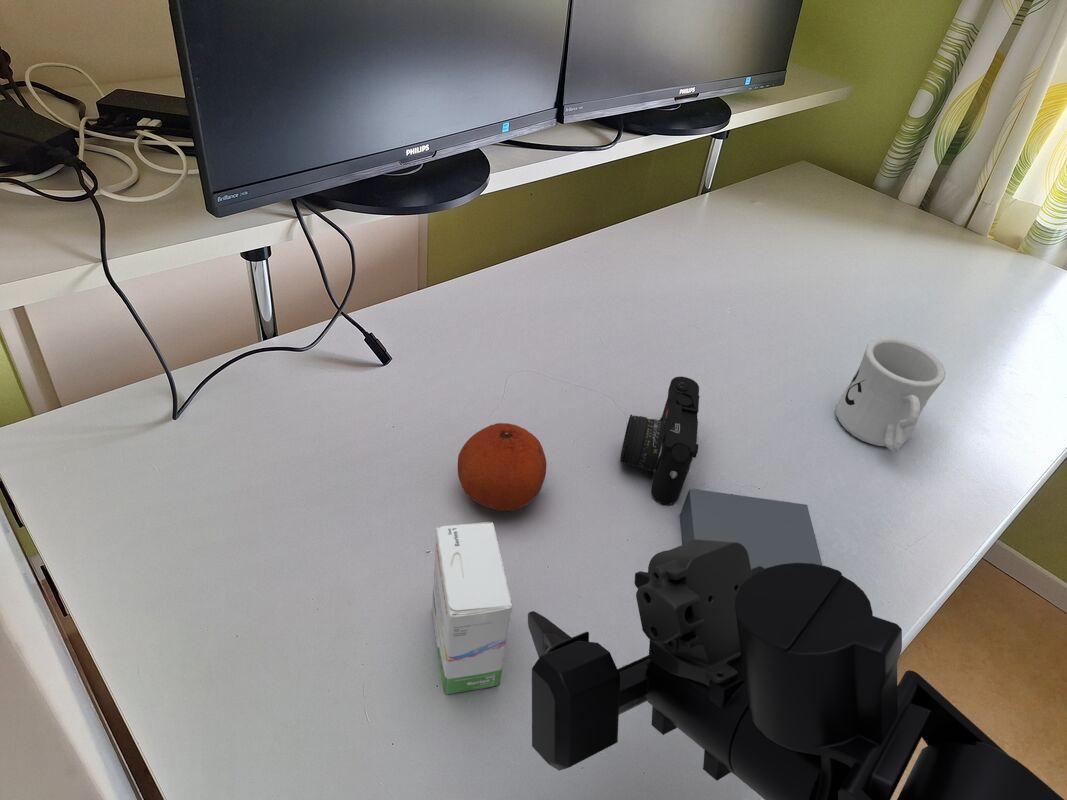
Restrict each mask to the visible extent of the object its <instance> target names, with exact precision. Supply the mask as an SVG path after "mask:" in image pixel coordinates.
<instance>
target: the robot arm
mask: <svg viewBox="0 0 1067 800" xmlns="http://www.w3.org/2000/svg"><path fill="white" fill-rule="evenodd" d="M822 565H823V564H822ZM822 565H817V564H811V563H789V564H780V565H776V566H772V567H768V568H766V569H765V568H763V567H761V566H758V567H756V568H753V569H751V566H750V561H749V556H748V552H747V550H746V548H745V547H744V546H743V545H742V544H740V543H737V542H724V541H711V540H693V541H690V542H689V543H687V544H685V545H679V546H677V547H674V548H671V549H667V550H662V551H659V552H657V553H656V554H654V555H653V556H652V557H651V559H650V561H649V562H648V567H647V572H646V571H643V570H642V571H641V570H640V571H637V572H635V573H634V586H635V588H636V589H637V590H636V592H635V599H636V603H637V604H636V605H637V608H638V613H639V618H640V624H641V628H642V632H643V634H644V635H645V636H646V637H647V639H649V647H648V654H647V655H646V656H644V657H641V658H639V659H637V660H635V661H632V662H630V663H628V664H626V665H623V666H621V667H619V668H617V665H616V663H615V660H614V658H613V656H612V653H611V652H610V651H609V650H608V649H606V647H604V646H603V645H602V644H600V643H599V642H596V641H595V642H593V641H590V631H584V632H582V633H579V634H576V635H574V636H572V637H571V635H569V634H568V633H566V632H565V631H564V630H562V629H561V628H560V627H559V626H557V625H556V624H554V623H553V622H552V621H551V620H549V619H548V618H547V617H545V616H543V615H542V614H541V613H539V612H537V611H534V610H532V611H529V612H528V613H527V627H528V629H529V633H530V635H531V639H532V641H533V644H534V647H535V651H536V654H537V656H538V659H537V660H536V662H534V665H533V666H532V667H531V747H532V748H533V749H534V750H535V752H536V753H537V754H538V755H539V756H540V757H541V758H542V759H543V760H544V761H545V763H547V764H548V765H549V766H550V767H552V768H554V769H555V770H557V771H559V772H560V771H562V770H566V769H569V768H571V767H573V766H574V765H577V764H579V763H582V762H583V761H585V760H587V759H588V758H591V757H593V756H595V755H596V754H598V753H600V752H602V751H605V750H606V749H608V748H611V746H614V745H615V744H618V742H619V721H620V720H619V717H620V716H619V715H622V714H624V713H626V712H628V711H631V710H632V709H634V708H636V707H638V706H640V705H642V704H645V703H646V702H647V703H648V704H650V706H651V707H652V708H651V726H652V727H653V728H655V730H656V731H658V733H660V734H661V735H662V736H665V735H666V734H668V733H671V732H672V731H675V730H676V729H679V730H680V731H681V732H682V733H683V734H684V735H685V736H687V738H689V739H691V741H693V742H694V743H695V744H696V745H698V746H699V747H700V748H701V749H703V750H704V751H703V761H702V763H703V764H702V770H703V771H704V772H706V773H707V774H708V775H709V776H710V777H711V778H712V779H714V780H715V781H717V782H718V781H719V780H721V779H722V778H724V777H726V776H728V775H729V774H733V775H734V776H735V777H737V778H738V779H739V780H740V781H741V782H742V783H744V784H745V785H746V786H748V787H749V788H750V790H752V791H754V792H755V793H756V794H757V795H758V796H760V797H761V798H762V799H763V800H891V799H892V798H893V795H894V793H895V792H896V789H897V787H898V785H899V783H900V781H901V780H902V778H903V776H904V773H905V772H906V770H907V768H908V765H909V764H910V762H911V760H912V757H913V756H914V754H915V752H916V750H917V748H918V746H919V743H920V742H921V740H923V741H924V743H925V745H926V746H924V747H923V748H922V749H921V750H920V752H919V754H918V756H917V758H916V760H915V762H914V764H913V766H912V769H911V770H910V772H909V774H908V776H907V778H906V780H905V782H904V784H903V786H902V788H901V791H900V793H899V795H898V796H897V798H896V800H1065V798H1063V797H1062V796H1061V795H1060V794H1059V793H1058V792H1056V791H1055V790H1054V789H1052V788H1051V787H1050V786H1049V785H1048V784H1047V783H1046V782H1045V781H1043V780H1042V779H1041V778H1040V777H1039V776H1037V774H1035V773H1034V772H1033V771H1032V770H1030V769H1029V768H1028V767H1027V766H1025V765H1024V764H1023V763H1021V762H1020V761H1019V760H1018V759H1016V758H1015V757H1013V756H1011V755H1010V754H1008V753H1007V752H1006V751H1005V750H1004V749H1003V748H1001V746H999V745H998V743H996V742H995V741H994V740H993V739H991V738H990V737H989V736H988V735H987V734H986V733H985V732H984V731H983V730H982V729H980V727H978V726H977V725H976V724H975V723H974V722H973V721H972V720H970V719H969V718H968V717H967V716H966V715H965V714H963V712H962V711H961V710H959V709H958V708H957V707H956V706H955V705H954V704H953V703H952V702H950V701H949V700H948V699H947V698H946V697H945V696H944V695H943V694H942V693H940V692H939V691H938V690H937V689H936V688H935V687H934V686H932V685H931V684H930V682H929V681H928V680H926V679H924V677H923V676H922V675H920V674H919V673H918V672H916V671H914V670H911V669H910V670H909V669H908V670H906V671H905V672H904V673H903V675H902V677H901V679H900V681H899V682H898V661H899V659H900V656H901V654H902V649H903V629H902V627H900V626H899V624H898V623H895V622H893V621H889V620H886V619H884V618H881V617H877V616H874V614H873V608H872V604H871V600H870V599H869V598H868V595H867V594H866V593H865V592H864V591H865V590H863V589H862V588H861V587H860V586H859V585H857V584H856V583H855V582H854V581H853V580H850V579H849V578H847V577H845V576H844V575H843V573H842V572H841V571H840V570H839V569H835V568H833V567H830V566H826V565H823V566H822Z"/></svg>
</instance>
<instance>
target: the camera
mask: <svg viewBox="0 0 1067 800" xmlns="http://www.w3.org/2000/svg"><path fill="white" fill-rule="evenodd" d="M669 383H670V384H669V386H668V390H667V398H666V401H665V404H664V407H663V411H662V415H661V417H660V419H656V418H655V419H653V418H648V417H646V416H642V415H640V416H639V415H633V414H630V415H629V418H628V421H627V424H626V427H625V428H626V429H625V432H624V436H623V437H624V438H623V441H622V446H621V452H620V457H619V463H622V464H623V465H627V466H631V467H634V468H637V467H640V468H642V469H643V470H648V471H651V472H653V474H652V482H651V488H650V494H651V496H652V498H653V499H654V500H655V501H656V502H658V503H660V504H661V505H669V506H670V505H674V504H675V503H676V502H677V501H678V500H679V498H680V495H681V493H682V490H683V487H684V484H685V482H686V479H687V476H688V474H689V471H690V468H691V464H692V462H693V459H696V457H697V455H698V451H699V444H698V443H697V442H698V428H699V421H698V420H699V418H698V413H699V407H700V406H699V405H700V386H699V384H698V382H696V381H695V380H694V379H692V378H690V377H687V376H675V377H673V378H672V379H671V380H670V382H669Z"/></svg>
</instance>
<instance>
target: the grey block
mask: <svg viewBox="0 0 1067 800" xmlns="http://www.w3.org/2000/svg"><path fill="white" fill-rule="evenodd" d="M811 519H812V518H811V515H810V511H809V506H808V504H805V503H797V502H792V501H784V500H776V499H769V498H763V497H754V496H748V495H741V494H740V495H739V494H732V493H725V492H718V491H711V490H704V489H698V488H690V487H689V488H688V490H687V494H686V495H685V499H684V501H683V504H682V506H681V509H680V512H679V522H680V533H681V544H682V545H685V544H687V543H689V542H690V541H693V540H711V541H724V542H737V543H740V544H742V545H743V546H744V547H745V548H746V550H747V552H748V556H749V561H750V566H751V569H753V568H756V567H758V566H761V567H763V568H765V569H766V568H768V567H772V566H776V565H780V564H789V563H811V564H817V565H822V566H824V565H823V562H822V557H821V554H820V550H819V545H818V542H817V541H818V540H817V539H816V534H815V530H814V525H813V521H812V520H811ZM682 545H681V546H682Z"/></svg>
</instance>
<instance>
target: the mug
mask: <svg viewBox="0 0 1067 800" xmlns="http://www.w3.org/2000/svg"><path fill="white" fill-rule="evenodd" d="M946 374H947V373H946V370H945V366H944V365H943V363H942V362H941V360H940V359H939V358H938V357H937V356H936V355H935V354H934V353H933V352H931V351H930V350H928V349H926V348H925V347H924V346H921V345H919V344H917V343H915V342H912V341H910V340H907V339H903V338H900V337H899V338H898V337H889V336H886V337H885V336H884V337H878V338H875V339H873V340H871V341H870V342H869V343H868V344H866V348H865V350H864V352H863V355H862V359H861V361H860V364H859V366H858V368H857V370H856V372H855V374H854V376H853V378H852V379H851V381H850V383H849V384H848V386H847V387H846V389H845V390H844V391H843V392H842V394H841V396H840V397H839V399H838V400H837V403H836V405H835V415H836V417H837V419H838V421H839V423H840V425H841V426H842V427H843V428H844V430H846V431H847V432H848V433H849V434H850V435H852V436H853V437H855V438H856V439H858V440H860V441H863V442H865V443H867V444H869V445H873V446H878V447H886V448H887V449H888V450H889V451H892V452H894V451H899V450H900V449H902V447H903V446H904V444H905V443H906V441H908V440H909V438H911V436H912V434H913V432H914V430H915V427H916V425H917V422H918V420H919V418H920V416H921V413H922V412H923V409H924V408H925V406H926V405H927V403H928V402H929V400H930V398H931V397H932V395H933V394H934V393H935V392H936V390H937V389H938V387H940V386H941V384H942V383H943V382H944V380H945V379H946Z"/></svg>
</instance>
